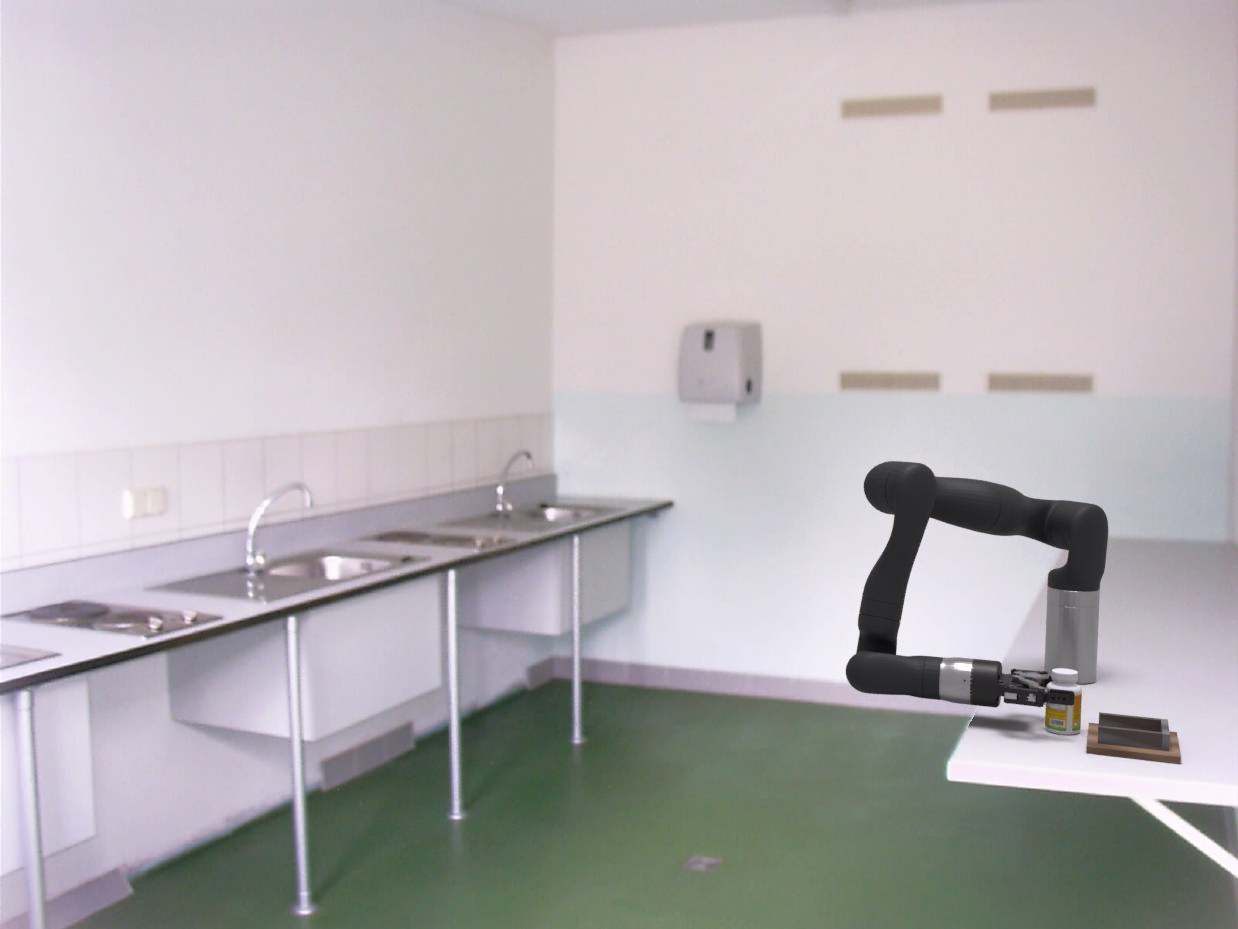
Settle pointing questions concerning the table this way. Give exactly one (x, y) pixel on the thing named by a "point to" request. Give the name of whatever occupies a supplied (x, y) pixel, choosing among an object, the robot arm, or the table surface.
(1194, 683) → the table surface
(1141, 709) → the table surface
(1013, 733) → the table surface
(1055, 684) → the supplement bottle
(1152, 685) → the table surface
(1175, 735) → the u holder
